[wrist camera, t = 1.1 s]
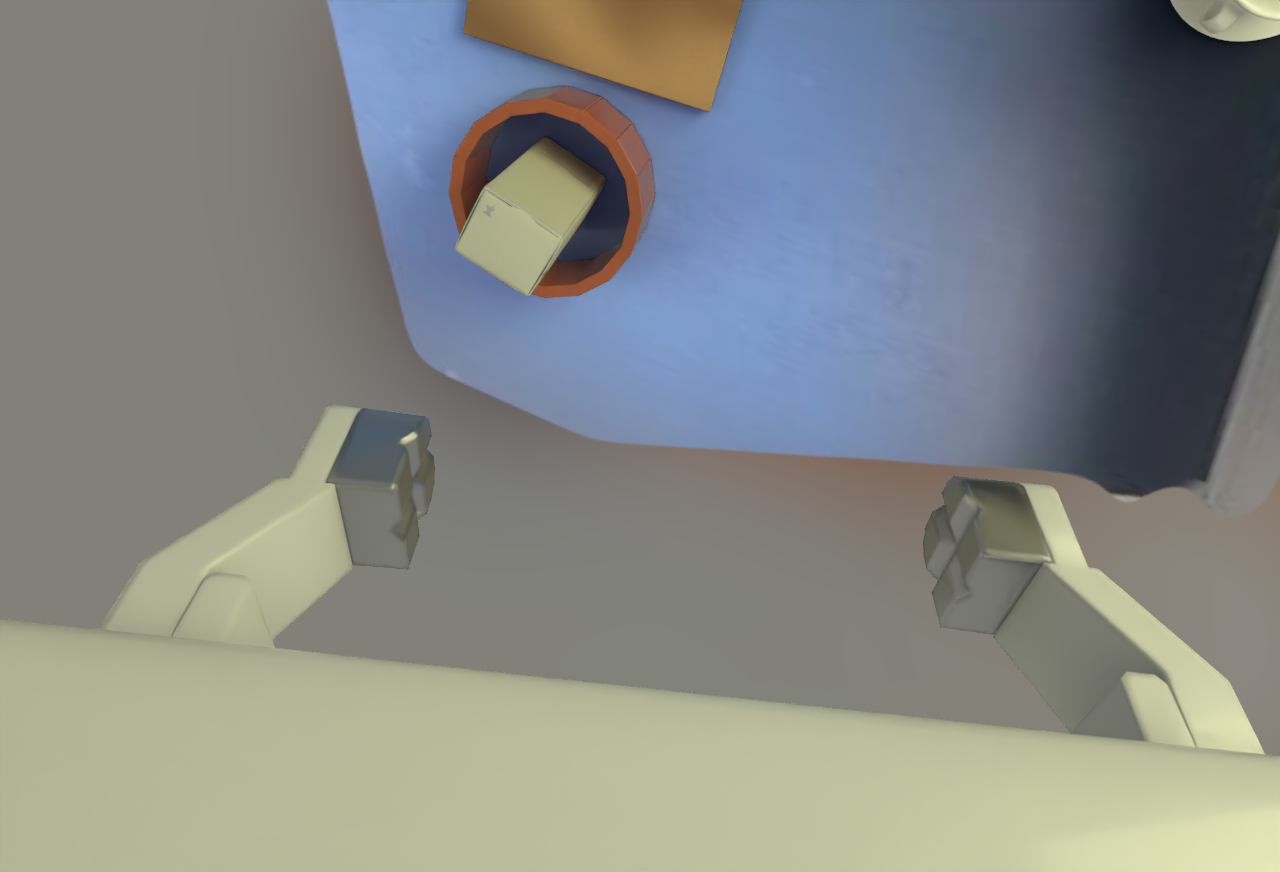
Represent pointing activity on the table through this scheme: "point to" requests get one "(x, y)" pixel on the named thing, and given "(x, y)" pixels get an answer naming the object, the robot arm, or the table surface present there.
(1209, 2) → the teacup
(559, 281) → the orange hollow cylinder
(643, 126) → the table surface
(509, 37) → the brown flat wooden board
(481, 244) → the box
